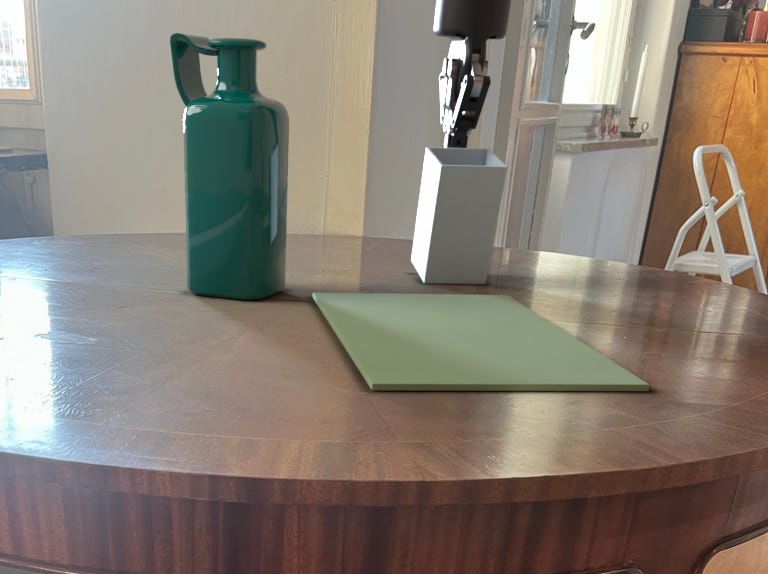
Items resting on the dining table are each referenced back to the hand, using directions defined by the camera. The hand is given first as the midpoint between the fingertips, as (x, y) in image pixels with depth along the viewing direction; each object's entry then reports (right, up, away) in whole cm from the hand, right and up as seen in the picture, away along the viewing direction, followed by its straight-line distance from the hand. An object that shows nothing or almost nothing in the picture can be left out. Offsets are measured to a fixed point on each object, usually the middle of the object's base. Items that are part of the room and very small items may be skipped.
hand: (451, 171), depth 105 cm
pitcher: (-24, -17, -8) cm, 30 cm away
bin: (0, -10, +2) cm, 10 cm away
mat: (-4, -26, -24) cm, 36 cm away
